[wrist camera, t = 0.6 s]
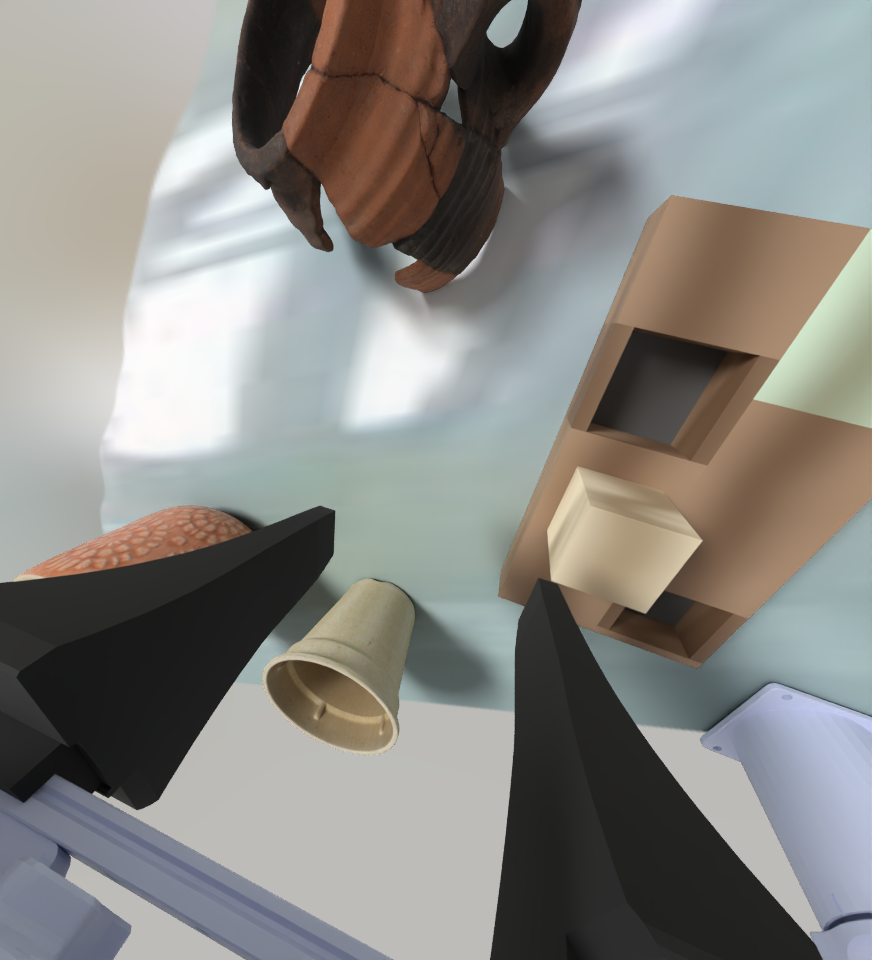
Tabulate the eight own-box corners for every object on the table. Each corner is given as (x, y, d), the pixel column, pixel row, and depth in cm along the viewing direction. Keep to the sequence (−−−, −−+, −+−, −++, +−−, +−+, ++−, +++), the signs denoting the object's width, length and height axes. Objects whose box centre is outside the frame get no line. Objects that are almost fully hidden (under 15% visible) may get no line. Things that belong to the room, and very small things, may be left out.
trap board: (996, 279, 11) (1106, 268, 9) (679, 633, 21) (697, 668, 19) (648, 217, 13) (671, 195, 11) (501, 570, 22) (497, 596, 20)
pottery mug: (388, 336, 18) (228, 259, 12) (371, 185, 19) (209, 32, 12) (628, 194, 11) (559, -209, 5) (586, -41, 12) (473, -690, 5)
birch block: (663, 491, 15) (702, 540, 11) (622, 554, 17) (645, 613, 13) (577, 466, 16) (590, 505, 12) (547, 530, 17) (550, 580, 14)
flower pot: (454, 598, 25) (420, 715, 17) (412, 659, 29) (371, 773, 22) (349, 542, 25) (271, 632, 18) (324, 611, 30) (254, 706, 22)
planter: (188, 571, 33) (49, 668, 24) (168, 468, 27) (-27, 543, 18) (292, 616, 32) (189, 739, 22) (294, 517, 26) (155, 628, 16)
